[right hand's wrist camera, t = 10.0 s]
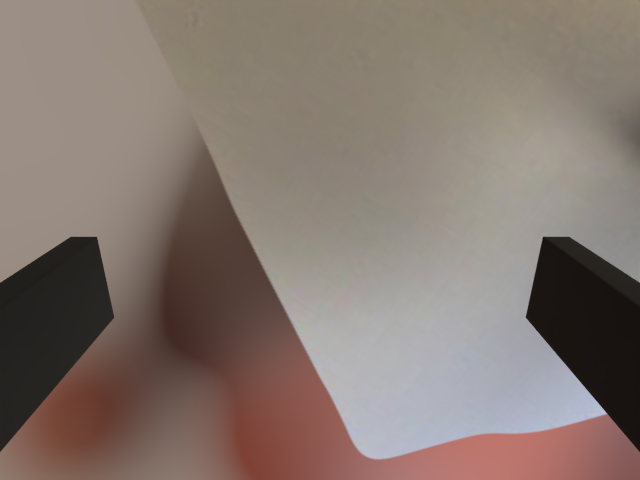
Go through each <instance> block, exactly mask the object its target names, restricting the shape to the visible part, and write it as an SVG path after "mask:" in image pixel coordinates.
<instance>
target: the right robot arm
mask: <svg viewBox="0 0 640 480" xmlns="http://www.w3.org/2000/svg"><path fill="white" fill-rule="evenodd" d="M113 318H114V314H113V310H112V305H111V301H110V296H109V291H108V286H107V282H106V277H105V273H104V268H103V263H102V259H101V254H100V249H99V244H98V240H97V237H70V238H68V239H67V240H65V241H64V242H62V243H61V244H59V245H58V246H56V247H55V248H53V249H52V250H50V251H49V252H47V253H45V254H44V255H42V256H41V257H39V258H38V259H36V260H35V261H33V262H32V263H30V264H28V265H27V266H25V267H24V268H22V269H21V270H19V271H18V272H16V273H15V274H13V275H12V276H10V277H9V278H7V279H5V280H4V281H2V282H1V283H0V451H1V450H2V449H3V448H4V447H5V446H6V444H7V443H8V442H9V441H10V440H11V439H12V437H13V436H14V435H15V434H16V433H17V431H18V430H19V429H20V428H21V427H22V426H23V424H24V423H25V422H26V421H27V420H28V418H29V417H30V416H31V415H32V414H33V413H34V411H35V410H36V409H37V408H38V407H39V406H40V404H41V403H42V402H43V401H44V400H45V398H46V397H47V396H48V395H49V394H50V393H51V391H52V390H53V389H54V388H55V387H56V385H57V384H58V383H59V382H60V381H61V380H62V378H63V377H64V376H65V375H66V374H67V373H68V371H69V370H70V369H71V368H72V367H73V365H74V364H75V363H76V362H77V361H78V360H79V358H80V357H81V356H82V355H83V354H84V352H85V351H86V350H87V349H88V348H89V346H90V345H91V344H92V343H93V342H94V341H95V339H96V338H97V337H98V336H99V335H100V334H101V332H102V331H103V330H104V329H105V328H106V326H107V325H108V324H109V323H110V322H111V321H112V319H113ZM526 318H527V319H528V321H529V322H530V323H531V324H532V325H533V327H534V328H535V329H536V330H537V331H538V332H539V334H540V335H541V336H542V337H543V338H544V339H545V341H546V342H547V343H548V344H549V345H550V347H551V348H552V349H553V350H554V351H555V352H556V354H557V355H558V356H559V357H560V358H561V360H562V361H563V362H564V363H565V364H566V365H567V367H568V368H569V369H570V370H571V371H572V373H573V374H574V375H575V376H576V377H577V378H578V380H579V381H580V382H581V383H582V384H583V385H584V387H585V388H586V389H587V390H588V391H589V393H590V394H591V395H592V396H593V397H594V398H595V400H596V401H597V402H598V403H599V404H600V406H601V407H602V408H603V409H604V410H605V411H606V413H607V414H608V415H609V416H610V417H611V419H612V420H613V421H614V422H615V423H616V424H617V426H618V427H619V428H620V429H621V430H622V431H623V433H624V434H625V435H626V436H627V437H628V438H629V440H630V441H631V442H632V443H633V444H634V446H635V447H636V448H637V449H638V450H639V452H640V283H639V282H638V281H636V280H635V279H633V278H631V277H630V276H628V275H627V274H625V273H624V272H622V271H621V270H619V269H618V268H616V267H615V266H613V265H612V264H610V263H608V262H607V261H605V260H604V259H602V258H601V257H599V256H598V255H596V254H595V253H593V252H592V251H590V250H588V249H587V248H585V247H584V246H582V245H581V244H579V243H578V242H576V241H575V240H573V239H572V238H570V237H543V240H542V244H541V249H540V254H539V258H538V263H537V268H536V272H535V277H534V282H533V286H532V291H531V296H530V300H529V305H528V310H527V314H526Z"/></svg>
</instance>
